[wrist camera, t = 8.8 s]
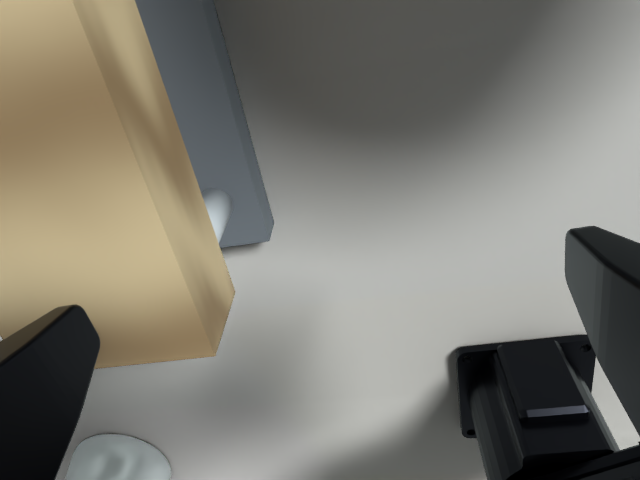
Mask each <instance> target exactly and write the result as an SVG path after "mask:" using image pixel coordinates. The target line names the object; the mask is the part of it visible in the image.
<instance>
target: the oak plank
mask: <svg viewBox="0 0 640 480" xmlns="http://www.w3.org/2000/svg"><path fill="white" fill-rule="evenodd" d="M234 295H235V290H234V287H233V284H232V281H231V278H230V275H229V272H228V269H227V266H226V264H225V261H224V258H223V255H222V252H221V249H220V246H219V243H218V240H217V237H216V235H215V232H214V229H213V226H212V223H211V220H210V217H209V214H208V211H207V208H206V205H205V203H204V200H203V197H202V194H201V191H200V188H199V185H198V182H197V179H196V176H195V174H194V171H193V168H192V165H191V162H190V159H189V156H188V153H187V150H186V147H185V145H184V142H183V139H182V136H181V133H180V130H179V127H178V124H177V121H176V118H175V115H174V113H173V110H172V107H171V104H170V101H169V98H168V95H167V92H166V89H165V86H164V84H163V81H162V78H161V75H160V72H159V69H158V66H157V63H156V60H155V57H154V55H153V52H152V49H151V46H150V43H149V40H148V37H147V34H146V31H145V28H144V25H143V23H142V20H141V17H140V14H139V11H138V8H137V5H136V2H135V0H0V336H1V337H2V339H3V340H4V339H5V338H7V337H9V336H10V335H12V334H13V333H15V332H17V331H18V330H20V329H22V328H23V327H25V326H27V325H28V324H30V323H32V322H33V321H35V320H37V319H38V318H40V317H42V316H43V315H45V314H46V313H48V312H50V311H51V310H53V309H55V308H57V307H60V306H66V305H73V304H77V305H80V306H81V307H82V308H83V309H84V310H85V312H86V314H87V315H88V317H89V319H90V321H91V322H92V324H93V326H94V328H95V329H96V331H97V333H98V335H99V338H100V350H99V353H98V357H97V360H96V364H95V367H94V369H98V368H107V367H117V366H126V365H136V364H145V363H155V362H164V361H174V360H184V359H193V358H203V357H212V356H216V352H217V349H218V346H219V343H220V340H221V337H222V333H223V330H224V327H225V324H226V321H227V317H228V314H229V311H230V308H231V305H232V301H233V298H234Z"/></svg>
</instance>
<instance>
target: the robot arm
mask: <svg viewBox="0 0 640 480" xmlns="http://www.w3.org/2000/svg"><path fill="white" fill-rule="evenodd" d="M565 277H566V281H567V285H568V287H569V290H570V292H571V295H572V297H573V300H574V302H575V305H576V307H577V310H578V312H579V315H580V317H581V320H582V322H583V325H584V327H585V330H586V332H587V335H575V336H565V337H555V338H545V339H535V340H526V341H516V342H506V343H496V344H486V345H477V346H467V347H462V348H460V349H458V350H457V352H456V368H457V382H458V396H459V410H460V424H461V430H462V434H463V436H464V437H467V438H477V440H478V444H479V448H480V452H481V456H482V460H483V464H484V468H485V473H486V477H487V480H640V442H638V443H639V445H636V446H633V447H629V448H626V449H623V450H620V449H619V447H618V445H617V443H616V441H615V439H614V437H613V435H612V433H611V432H610V430H609V428H608V426H607V424H606V422H605V420H604V418H603V416H602V414H601V412H600V410H599V408H598V406H597V404H596V402H595V400H594V398H593V396H592V394H591V391H592V383H593V375H594V367H595V358H596V357H597V359H598V361H599V363H600V365H601V367H602V369H603V371H604V373H605V375H606V376H607V378H608V380H609V382H610V384H611V385H612V387H613V389H614V391H615V393H616V394H617V396H618V398H619V400H620V402H621V403H622V405H623V407H624V409H625V411H626V412H627V414H628V416H629V418H630V420H631V421H632V423H633V425H634V427H635V429H636V430H637V432H638V434H639V436H640V243H637V242H635V241H632V240H630V239H627V238H625V237H622V236H619V235H617V234H614V233H612V232H609V231H606V230H604V229H601V228H599V227H596V226H587V227H581V228H574V229H570V230H569V231H568V232H567V234H566V239H565ZM585 344H586V345H585ZM583 345H585V346H583ZM99 350H100V338H99V335H98V333H97V331H96V329H95V328H94V326H93V324H92V322H91V321H90V319H89V317H88V315H87V314H86V312H85V310H84V309H83V308H82V307H81V306H80V305H77V304H73V305H66V306H60V307H57V308H55V309H53V310H51V311H50V312H48V313H46V314H45V315H43V316H42V317H40V318H38V319H37V320H35V321H33V322H32V323H30V324H28V325H27V326H25V327H23V328H22V329H20V330H18V331H17V332H15V333H13V334H12V335H10V336H9V337H7V338H5V339H4V340H2V341H0V480H55V478H56V476H57V473H58V471H59V468H60V466H61V463H62V461H63V458H64V456H65V453H66V451H67V448H68V446H69V443H70V441H71V438H72V436H73V433H74V431H75V428H76V426H77V423H78V420H79V418H80V415H81V411H82V408H83V405H84V402H85V398H86V395H87V391H88V388H89V384H90V381H91V377H92V374H93V370H94V367H95V364H96V360H97V357H98V353H99ZM466 356H469V357H467V358H464V357H466Z"/></svg>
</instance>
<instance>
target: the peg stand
mask: <svg viewBox="0 0 640 480" xmlns="http://www.w3.org/2000/svg"><path fill="white" fill-rule="evenodd" d="M135 2H136V5H137V8H138V11H139V14H140V17H141V20H142V23H143V25H144V28H145V31H146V34H147V37H148V40H149V43H150V46H151V49H152V52H153V55H154V57H155V60H156V63H157V66H158V69H159V72H160V75H161V78H162V81H163V84H164V86H165V89H166V92H167V95H168V98H169V101H170V104H171V107H172V110H173V113H174V115H175V118H176V121H177V124H178V127H179V130H180V133H181V136H182V139H183V142H184V145H185V147H186V150H187V153H188V156H189V159H190V162H191V165H192V168H193V171H194V174H195V176H196V179H197V182H198V185H199V188H200V191H201V194H202V197H203V200H204V203H205V205H206V208H207V211H208V214H209V217H210V220H211V223H212V226H213V229H214V232H215V235H216V237H217V240H218V243H219V246H220V248H223V247H230V246H237V245H244V244H252V243H259V242H266V241H269V240H270V237H271V233H272V229H273V225H274V221H273V217H272V214H271V210H270V206H269V203H268V199H267V195H266V192H265V188H264V184H263V181H262V177H261V173H260V170H259V166H258V162H257V159H256V155H255V151H254V148H253V144H252V141H251V137H250V133H249V130H248V126H247V122H246V119H245V115H244V111H243V108H242V104H241V100H240V97H239V93H238V89H237V86H236V82H235V78H234V75H233V71H232V67H231V64H230V60H229V57H228V53H227V49H226V46H225V42H224V38H223V35H222V31H221V27H220V24H219V20H218V16H217V13H216V9H215V5H214V2H213V0H135Z"/></svg>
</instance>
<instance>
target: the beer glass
mask: <svg viewBox="0 0 640 480" xmlns="http://www.w3.org/2000/svg"><path fill="white" fill-rule="evenodd" d="M170 478H171V467H170V464H169V462H168V460H167V459H166V457H165V456H164V455H163V454H162V453H161V452H160V451H159V450H158V449H156V448H155V447H154V446H152V445H150V444H149V443H147V442H145V441H142V440H140V439H137V438H134V437H131V436H127V435H121V434H100V435H96V436H92V437H90V438H87V439H85V440H84V441H82V442H81V443H80V444H79V445H78V446H77V447H76V449H75V451H74V453H73V455H72V458H71V461H70V465H69V468H68V471H67V475H66V478H65V480H170Z"/></svg>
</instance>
